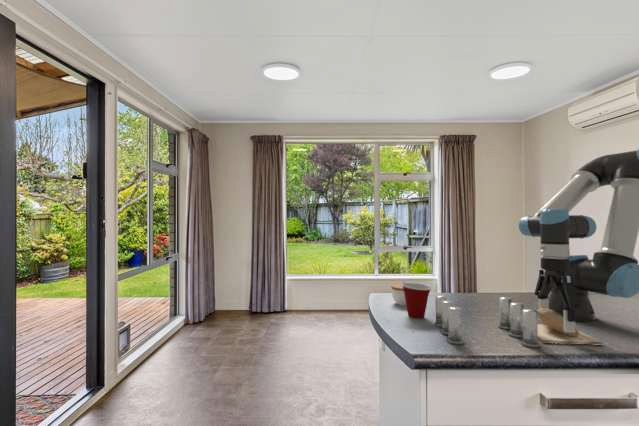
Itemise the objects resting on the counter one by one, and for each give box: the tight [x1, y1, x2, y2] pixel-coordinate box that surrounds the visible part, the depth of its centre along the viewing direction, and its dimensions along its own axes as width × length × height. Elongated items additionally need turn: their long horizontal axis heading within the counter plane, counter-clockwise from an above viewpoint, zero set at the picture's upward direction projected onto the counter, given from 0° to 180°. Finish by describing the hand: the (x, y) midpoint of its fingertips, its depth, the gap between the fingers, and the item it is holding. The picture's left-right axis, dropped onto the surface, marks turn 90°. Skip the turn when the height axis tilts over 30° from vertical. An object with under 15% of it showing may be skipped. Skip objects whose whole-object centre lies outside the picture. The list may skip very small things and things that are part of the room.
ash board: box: [537, 323, 603, 345], centre depth 105 cm, size 16×16×1 cm
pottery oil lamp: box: [536, 306, 579, 337], centre depth 105 cm, size 9×12×7 cm
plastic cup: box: [401, 282, 432, 320], centre depth 126 cm, size 11×11×12 cm
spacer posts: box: [434, 294, 540, 349], centre depth 106 cm, size 25×20×10 cm
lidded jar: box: [390, 281, 406, 306], centre depth 146 cm, size 11×11×9 cm
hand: (555, 325), depth 105 cm, fingers open, 13 cm apart
